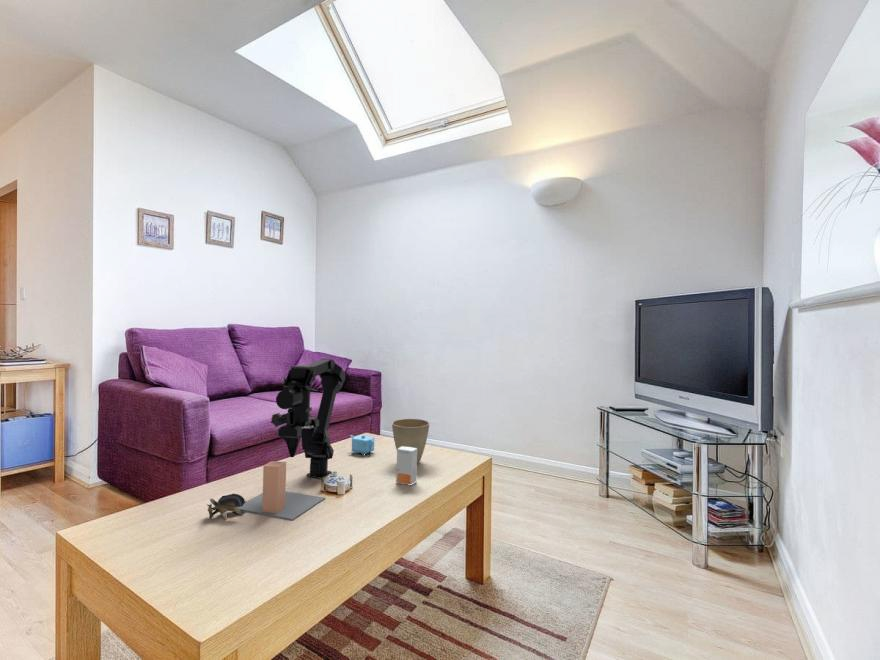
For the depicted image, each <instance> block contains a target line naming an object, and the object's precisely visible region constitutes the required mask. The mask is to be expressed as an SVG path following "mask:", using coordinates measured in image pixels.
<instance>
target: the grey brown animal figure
mask: <svg viewBox="0 0 880 660" xmlns="http://www.w3.org/2000/svg"><path fill="white" fill-rule="evenodd" d="M209 502H210V504H206V507H207V506H208V507H207V512H208V515H209V517H208V520H212V519H213V517H214V516H215V515H216V514H218V513H220V515H221V516H222V517H223V519H224V520H225V521H227V519H228V518H227V517H228V514H227V512H233V513H237V514H238V515H244V514H245V513H246V512H245V511H241V510H240V509H238V508H237V507H242V506H243V504H245V502H246V500H245V498H244V497H243V496H242V495H241V494H239V493H230V494H226V495H222V496H221V497H219V499H218V500H215V499H214V498H209Z"/></svg>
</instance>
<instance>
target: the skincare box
mask: <svg viewBox="0 0 880 660" xmlns="http://www.w3.org/2000/svg"><path fill="white" fill-rule="evenodd" d="M417 466H418V464H417V448H412V447H405V446H402V447H400V448H398V449H397V450H396V472H395V476H396V478H395V483H396V482H397V483H396V484H399V483H404V484H412V483H414V482H415V481H416V482H417V475H418V473H417V472H418V468H417ZM404 484H403V485H404Z"/></svg>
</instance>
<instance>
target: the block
mask: <svg viewBox="0 0 880 660" xmlns="http://www.w3.org/2000/svg"><path fill="white" fill-rule="evenodd" d="M262 468H263V470H262V471H263V473H262V493H263V503H262V512H271V513H278V512H279V511H280V510H282V509H283V508H284V507H285V493H286V491H287V490H286V489H287V488H286V485H287V484H286V483H287V481H286V480H287V461H275V460H272V461H271V460H270V461H269V462H267V463H266V464H264V465H263V467H262Z"/></svg>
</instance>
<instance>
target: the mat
mask: <svg viewBox="0 0 880 660" xmlns="http://www.w3.org/2000/svg"><path fill="white" fill-rule="evenodd" d="M325 500H326V497H323V496H318V495H311V494H306V493H301V492H300V493H299V492H294V491H293V492H292V491H288V490H286V493H285V507H284V508H283V509H282V510H280V511H279V512H278V513H271V512H262V503H263V492H262V493H260V494H257V495H256V496H254V497H252V498H250V499H248V500H245V504H243V506H242V507H237V508H238V509H240V510H241V511H244V512H245V513H249V514H250V513H251V514H257V515H260V516H267V517H272V518H277V519H282V520H288V521H294V520H296V519H298V518H299V517H301V516H302V515H304V514H305V513H307V512H308V511H310V510H311V509H313V508H314V507H316V506H317V505H318V504H320V503H321V502H323V501H325Z"/></svg>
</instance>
